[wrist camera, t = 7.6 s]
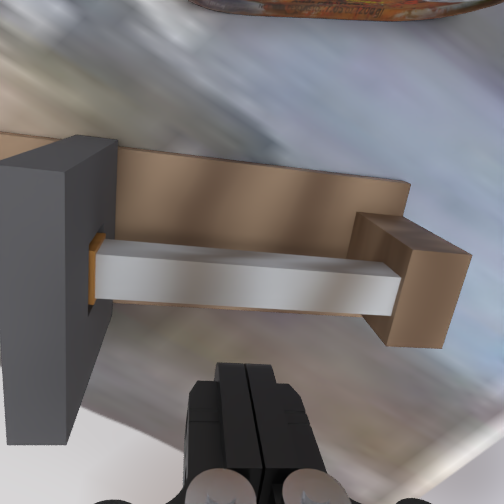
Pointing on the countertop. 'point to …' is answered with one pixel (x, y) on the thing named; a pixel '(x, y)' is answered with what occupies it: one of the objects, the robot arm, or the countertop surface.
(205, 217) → the rod stand
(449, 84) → the countertop surface
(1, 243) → the dark grey square plate
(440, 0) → the tin
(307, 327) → the countertop surface
